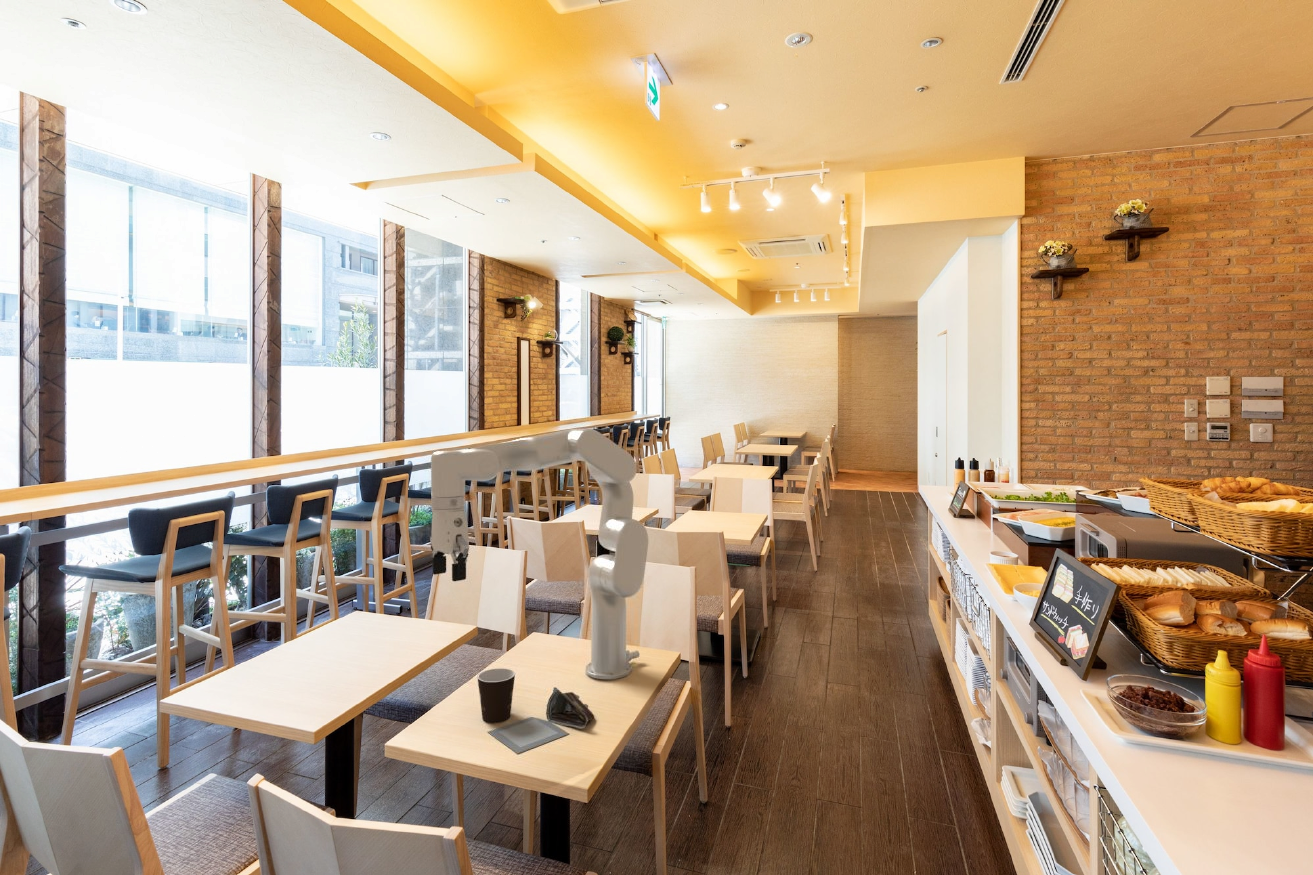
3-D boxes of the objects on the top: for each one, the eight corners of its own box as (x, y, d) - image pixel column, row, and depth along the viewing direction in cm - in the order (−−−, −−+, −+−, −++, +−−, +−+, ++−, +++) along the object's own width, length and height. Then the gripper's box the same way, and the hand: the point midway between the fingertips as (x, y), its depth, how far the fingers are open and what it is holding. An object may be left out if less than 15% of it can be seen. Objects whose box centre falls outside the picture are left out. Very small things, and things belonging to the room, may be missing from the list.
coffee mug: (505, 727, 145) (505, 683, 145) (470, 723, 147) (470, 680, 147) (526, 705, 156) (526, 665, 156) (493, 702, 158) (493, 662, 158)
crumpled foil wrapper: (607, 718, 148) (582, 675, 154) (589, 722, 142) (564, 676, 148) (580, 744, 149) (557, 700, 156) (562, 749, 144) (538, 702, 150)
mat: (537, 714, 151) (537, 714, 151) (569, 734, 142) (569, 733, 142) (487, 732, 142) (487, 731, 142) (517, 754, 133) (517, 753, 133)
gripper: (481, 505, 145) (482, 580, 145) (446, 499, 157) (447, 568, 158) (450, 508, 140) (451, 586, 140) (416, 502, 152) (417, 573, 152)
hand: (449, 576), depth 149 cm, fingers open, 9 cm apart
